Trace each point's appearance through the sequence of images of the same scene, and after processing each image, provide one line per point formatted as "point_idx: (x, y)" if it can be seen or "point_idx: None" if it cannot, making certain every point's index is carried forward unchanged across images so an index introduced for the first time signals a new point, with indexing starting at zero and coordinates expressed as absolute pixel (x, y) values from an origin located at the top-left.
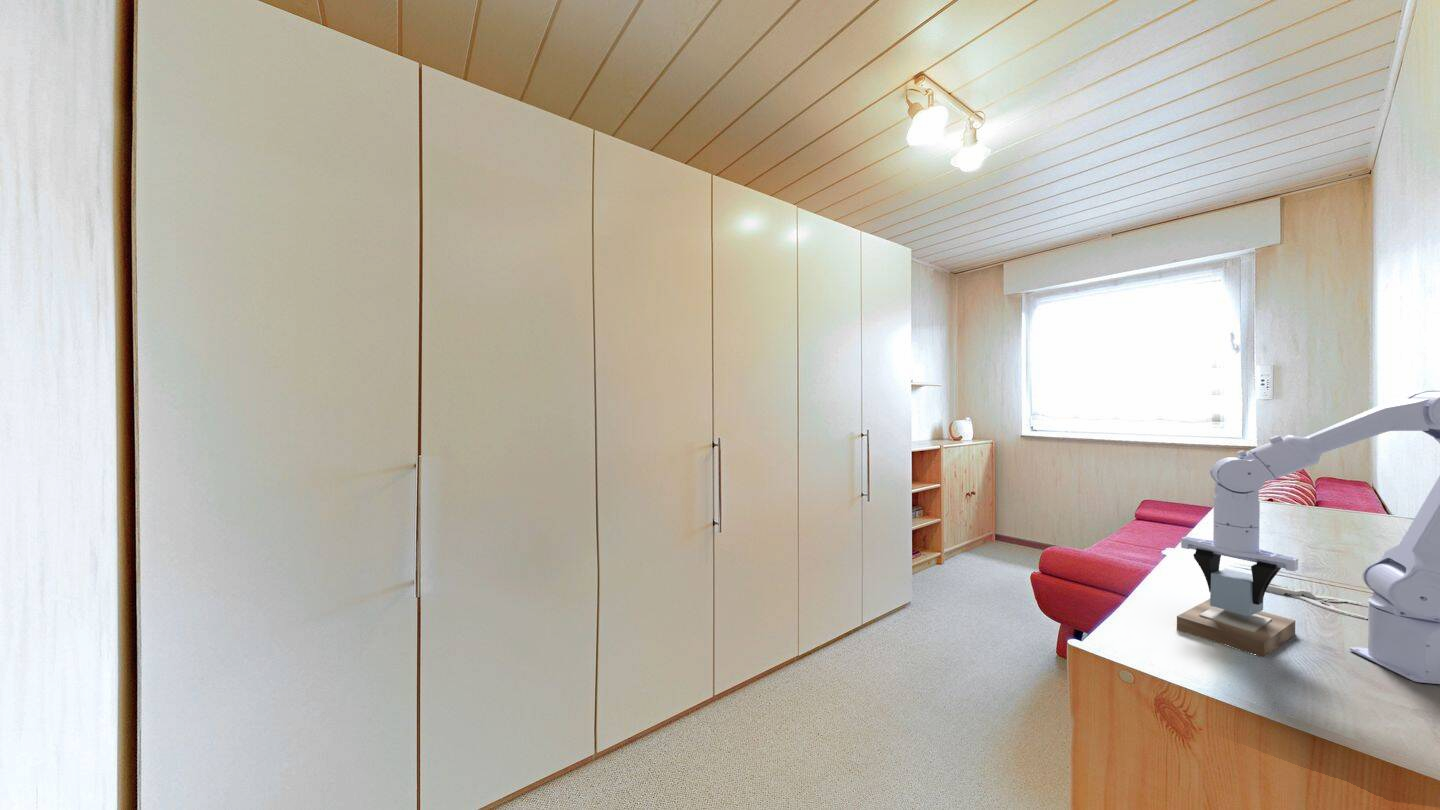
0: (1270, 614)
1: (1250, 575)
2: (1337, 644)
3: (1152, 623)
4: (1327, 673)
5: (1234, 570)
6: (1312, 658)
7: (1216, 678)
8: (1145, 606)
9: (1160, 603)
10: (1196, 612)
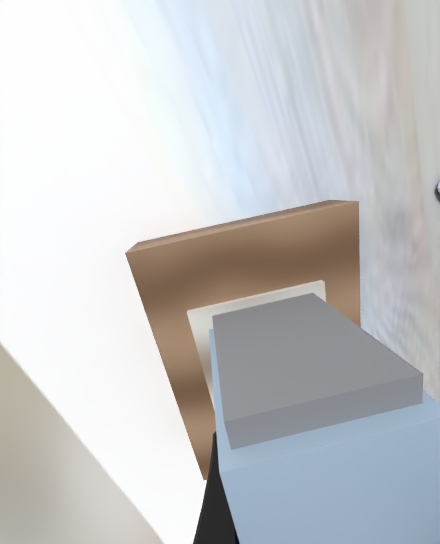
0: (298, 224)
1: (389, 473)
2: (408, 165)
3: (164, 460)
4: (418, 368)
5: (275, 458)
6: (390, 326)
7: None
8: (74, 396)
9: (60, 339)
10: (204, 423)
